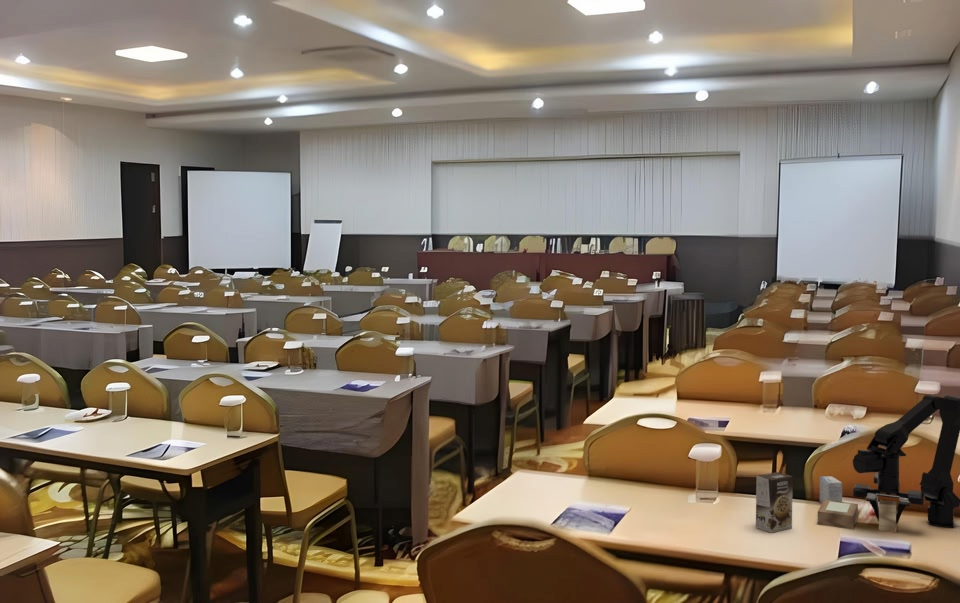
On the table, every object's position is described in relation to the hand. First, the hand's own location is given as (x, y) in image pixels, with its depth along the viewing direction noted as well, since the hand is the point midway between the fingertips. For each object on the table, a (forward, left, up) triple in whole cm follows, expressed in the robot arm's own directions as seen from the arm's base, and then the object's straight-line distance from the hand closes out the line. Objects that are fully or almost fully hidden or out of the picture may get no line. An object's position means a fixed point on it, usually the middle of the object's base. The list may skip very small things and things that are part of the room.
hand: (887, 522), depth 245 cm
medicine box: (+18, -18, -2) cm, 26 cm away
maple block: (0, 0, -2) cm, 2 cm away
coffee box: (+30, +15, -2) cm, 34 cm away
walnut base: (+14, -2, -2) cm, 14 cm away
